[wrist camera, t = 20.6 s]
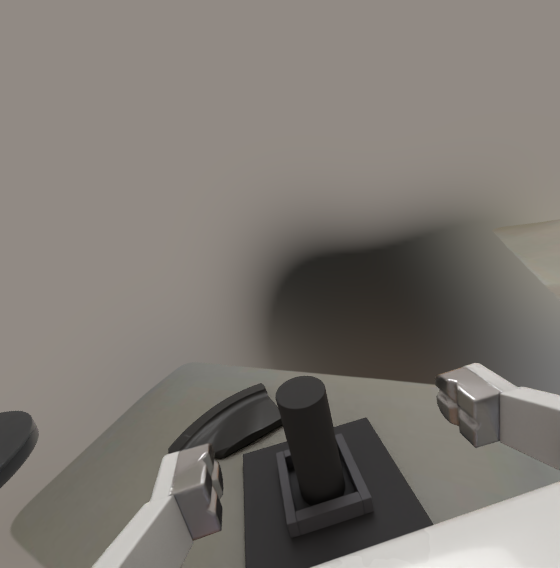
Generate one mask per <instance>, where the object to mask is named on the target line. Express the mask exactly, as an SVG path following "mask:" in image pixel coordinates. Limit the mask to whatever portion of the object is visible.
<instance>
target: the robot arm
mask: <svg viewBox="0 0 560 568" xmlns="http://www.w3.org/2000/svg"><path fill="white" fill-rule="evenodd" d="M435 384H436V386H437V387H438V388H439V389H440V390H439V392H438V394H437V404H438V406H439V409H440V411H441V413H442V414H443V416H444V417H445V418H446V419H447V420H448V421H449V422H450V423H452V424H454V425H457V426H459V429H460V433H461V434H462V435H463V436H464V437H465V438H466V439H467V440H468V441H469V442H470V443H471V444H472V445H473V446H474V447H475V448H477V447H480V446H484V445H487V444H491V443H494V442H498V441H500V442H501V443H503V444H505V445H507V446H509V447H512V448H514V449H516V450H518V451H520V452H522V453H524V454H526V455H528V456H531V457H533V458H535V459H537V460H539V461H541V462H543V463H545V464H547V465H550V466H552V467H554V468H556V469H558V470H560V395H555V394H551V393H547V392H543V391H539V390H535V389H530V388H526V387H520V388H518V387H516V386H515V385H513V384H511V383H510V382H508V381H507V380H505V379H503V378H502V377H500V376H499V375H497V374H495V373H494V372H492V371H490V370H489V369H487V368H486V367H484V366H482V365H481V364H478V363H473V364H470V365H467V366H464V367H462V368H459V369H455V370H452V371H449V372H446V373H442V374H439V375H437V376H436V378H435ZM214 457H215V451H214V448H213V445H212V444H211V443H206V444H203V445H199V446H195V447H191V448H188V449H184V450H181V451H178V452H174V453H171V454H167V455H165V456H164V457H163V459H162V462H161V466H160V469H159V472H158V476H157V479H156V483H155V486H154V489H153V493H152V496H151V500H150V502H148V503H145V504H144V505H143V507H142V508H141V509H140V510H139V511H138V512H137V514H136V515H135V516H134V517H133V518H132V520H131V521H130V522H129V523H128V524H127V526H126V527H125V528H124V529H123V530H122V532H121V533H120V534H119V535H118V536H117V538H116V539H115V540H114V541H113V542H112V543H111V545H110V546H109V547H108V548H107V549H106V551H105V552H104V553H103V554H102V555H101V557H100V558H99V559H98V560H97V561H96V563H95V564H94V565H93V566H92V567H91V568H181V566H182V564H183V562H184V560H185V558H186V556H187V554H188V552H189V550H190V548H191V546H192V544H193V541H194V540H196V539H199V538H202V537H205V536H207V535H210V534H213V533H216V532H219V531H221V527H222V506H221V503H220V498H221V497H222V495H223V478H222V472H221V468H220V465H219V462H218V461H216V460H214ZM310 568H560V481H559V482H556V483H553V484H550V485H547V486H545V487H542V488H539V489H536V490H533V491H530V492H527V493H524V494H521V495H519V496H516V497H513V498H510V499H507V500H504V501H501V502H498V503H495V504H493V505H490V506H487V507H484V508H481V509H478V510H475V511H472V512H470V513H467V514H464V515H461V516H458V517H455V518H452V519H449V520H446V521H444V522H441V523H438V524H435V525H432V526H429V527H426V528H423V529H420V530H418V531H415V532H412V533H409V534H406V535H403V536H400V537H397V538H394V539H391V540H389V541H386V542H383V543H380V544H377V545H374V546H371V547H368V548H365V549H363V550H360V551H357V552H354V553H351V554H348V555H345V556H342V557H339V558H336V559H334V560H331V561H328V562H325V563H322V564H319V565H316V566H313V567H310Z"/></svg>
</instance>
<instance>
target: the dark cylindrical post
mask: <svg viewBox="0 0 560 568" xmlns="http://www.w3.org/2000/svg"><path fill="white" fill-rule="evenodd" d="M276 401H277V405H278V409H279V412H280V416H281V420H282V424H283V427H284V431H285V435H286V439H287V443H288V446H289V450H290V454H291V458H292V461H293V465H294V469H295V473H296V476H297V480H298V484H299V488H300V492H301V495H302V497H303V499H304V500H305V501H306V502H307V503H308V504H309V505H311V506H314V505H317V504H320V503H323V502H326V501H329V500H333V499H336V498H339V497H342V496H343V494H344V491H345V481H344V476H343V471H342V466H341V461H340V457H339V452H338V447H337V442H336V437H335V433H334V428H333V423H332V418H331V413H330V409H329V404H328V399H327V394H326V389H325V386H324V384H323V382H322V381H321V380H319V379H318V378H315V377H311V376H300V377H295V378H292V379H290V380H288V381H286V382H284V383H283V384H282V385H281V386H280V387H279V388H278V390H277V392H276Z"/></svg>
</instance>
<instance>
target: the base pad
mask: <svg viewBox="0 0 560 568" xmlns="http://www.w3.org/2000/svg"><path fill="white" fill-rule="evenodd" d="M333 428H334V433H335V437H336V442H337V447H338V452H339V457H340V461H341V466H342V471H343V476H344V481H345V491H344V494H343V496H342V497H339V498H336V499H333V500H329V501H326V502H323V503H320V504H317V505H314V506H311V505H309V504H308V503H307V502H306V501H305V500H304V499H303V497H302V495H301V492H300V488H299V484H298V480H297V476H296V473H295V469H294V465H293V461H292V458H291V454H290V450H289V446H288V443H287V442H283V443H280V444H277V445H273V446H270V447H267V448H263V449H260V450H257V451H253V452H250V453H247V454H243V473H244V515H245V557H246V568H310V567H313V566H316V565H319V564H322V563H325V562H328V561H331V560H334V559H336V558H339V557H342V556H345V555H348V554H351V553H354V552H357V551H360V550H363V549H365V548H368V547H371V546H374V545H377V544H380V543H383V542H386V541H389V540H391V539H394V538H397V537H400V536H403V535H406V534H409V533H412V532H415V531H418V530H420V529H423V528H426V527H429V526H432V525H433V523H432V521H431V520H430V518H429V517H428V515H427V513H426V512H425V510H424V509H423V507H422V505H421V504H420V502H419V501H418V499H417V497H416V496H415V494H414V493H413V491H412V489H411V488H410V486H409V485H408V483H407V481H406V480H405V478H404V477H403V475H402V473H401V472H400V470H399V469H398V467H397V465H396V464H395V462H394V461H393V459H392V457H391V456H390V454H389V453H388V451H387V449H386V448H385V446H384V445H383V443H382V441H381V440H380V438H379V437H378V435H377V434H376V432H375V430H374V429H373V427H372V426H371V424H370V422H369V421H368V419H367V418H363V419H360V420H356V421H353V422H350V423H346V424H343V425H340V426H336V427H333Z"/></svg>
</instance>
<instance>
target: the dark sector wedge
mask: <svg viewBox="0 0 560 568" xmlns="http://www.w3.org/2000/svg"><path fill="white" fill-rule="evenodd" d="M280 425H282V420H281V416H280V412H279V409H278V407H277V406H276V405H275V403H274V402H273V401H272V400H271V399H270V398H269V397H268V395H267V391H266V389H265V386H264V385H263V384H262V383H260V384H257V385H254V386H252V387H249V388H247V389H245V390H242V391H240V392H238V393H236V394H234V395H232V396H230V397H228V398H227V399H225V400H223V401H222V402H220V403H219V404H217V405H215V406H214V407H213V408H211V409H210V410H208V411H207V412H206V413H205V414H203V415H202V416H201V417H200V418H198V419H197V420H196V421H195V422H194V423H193V424H191V425H190V426H189V427H188V428H187V429H186V430H185V431H184V432H183V433H182V434H181V435H180V436H179V437H178V438H177V439H176V440H175V442H174V443H173V444H172V445H171V446H170V447H169V449H168V451H169V454H171V453H174V452H178V451H181V450H184V449H188V448H191V447H195V446H199V445H203V444H206V443H211V444H212V445H213V448H214V451H215V457H214V458H223V457H226V456H228V455H230V454H231V453H233V452H235V451H237V450H239V449H240V448H242V447H244V446H246V445H248V444H249V443H251V442H253V441H254V440H256V439H258V438H260V437H261V436H263V435H264V434H266V433H268V432H269V431H271V430H273V429H275V428H277V427H278V426H280Z"/></svg>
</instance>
